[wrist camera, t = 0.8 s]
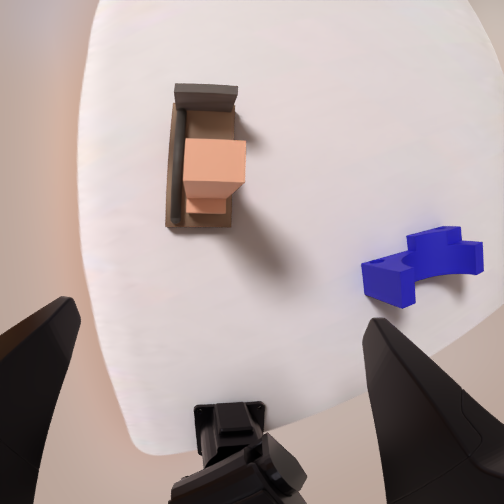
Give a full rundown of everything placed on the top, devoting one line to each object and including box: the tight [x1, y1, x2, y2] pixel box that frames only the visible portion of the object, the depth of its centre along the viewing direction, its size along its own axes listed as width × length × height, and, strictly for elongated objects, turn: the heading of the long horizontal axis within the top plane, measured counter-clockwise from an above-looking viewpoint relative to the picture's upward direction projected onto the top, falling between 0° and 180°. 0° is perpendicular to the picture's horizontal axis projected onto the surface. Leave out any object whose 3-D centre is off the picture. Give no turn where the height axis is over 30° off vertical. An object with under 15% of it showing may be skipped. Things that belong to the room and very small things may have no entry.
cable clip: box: [361, 226, 484, 309], centre depth 25 cm, size 12×4×6 cm, turn 101°
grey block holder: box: [165, 83, 238, 228], centre depth 21 cm, size 10×5×4 cm, turn 179°
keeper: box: [183, 138, 246, 214], centre depth 17 cm, size 4×3×9 cm
